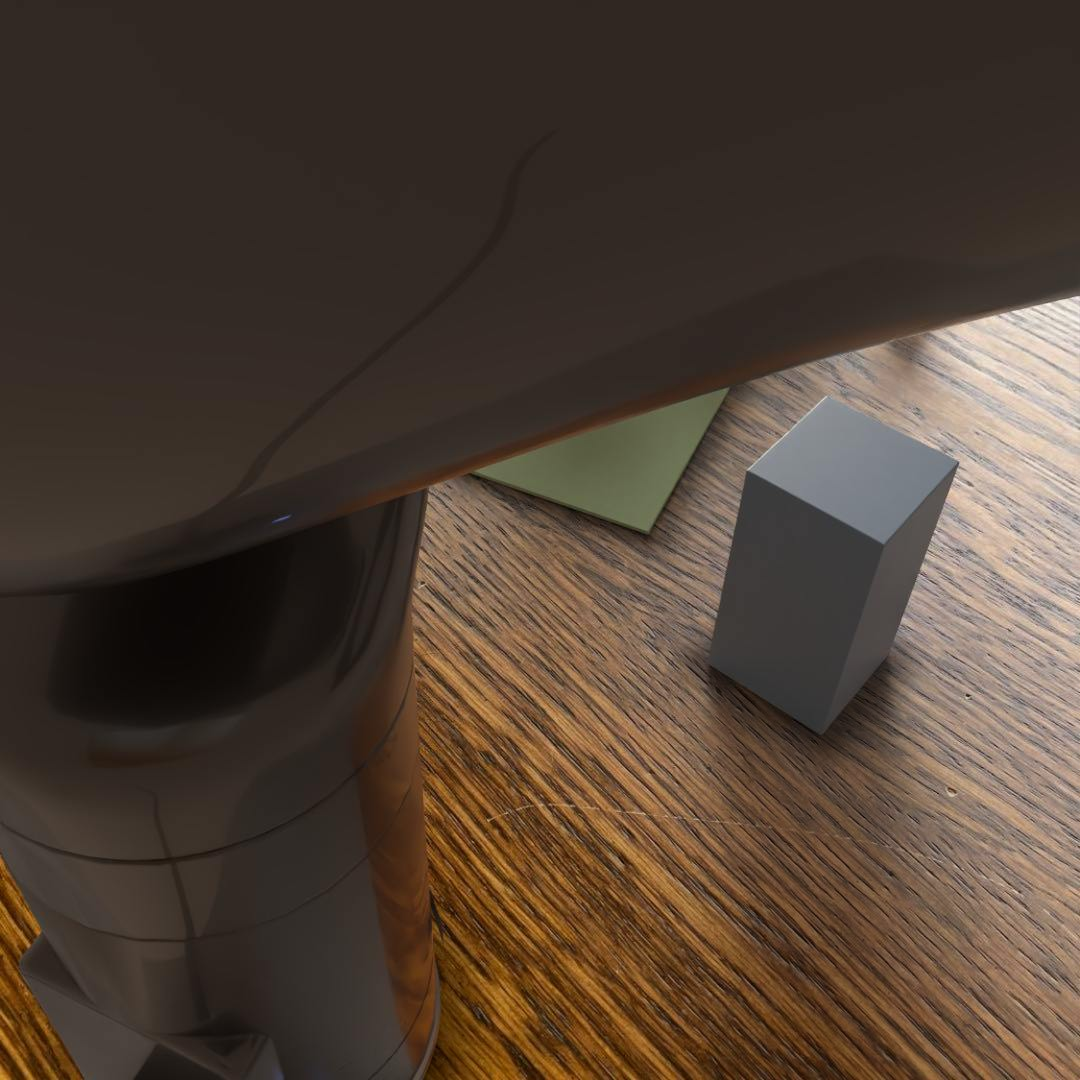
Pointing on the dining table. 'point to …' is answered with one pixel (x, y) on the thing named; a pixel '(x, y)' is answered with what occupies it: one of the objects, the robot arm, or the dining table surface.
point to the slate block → (826, 559)
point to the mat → (615, 464)
